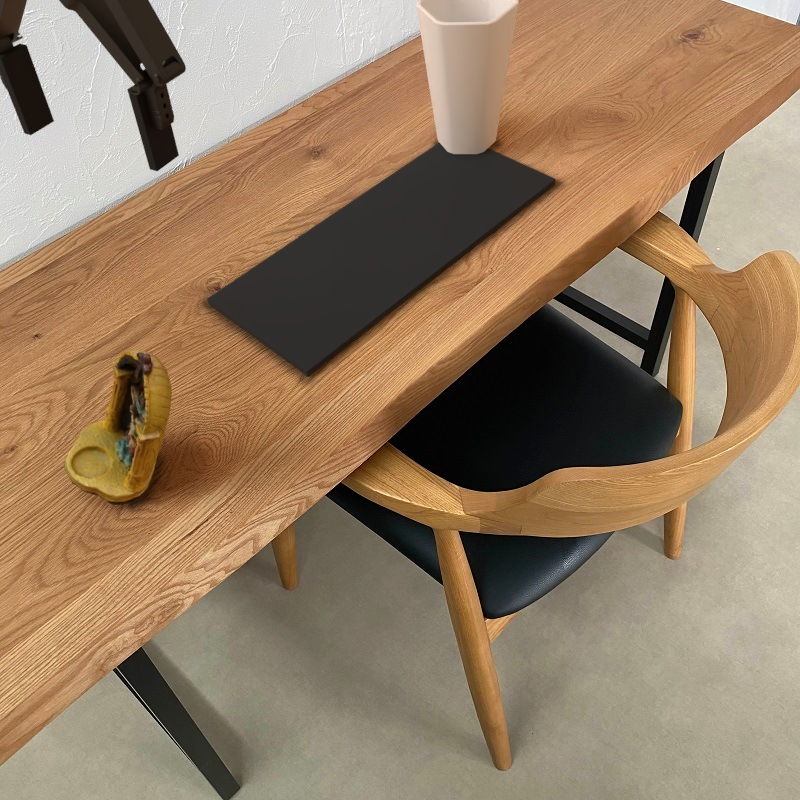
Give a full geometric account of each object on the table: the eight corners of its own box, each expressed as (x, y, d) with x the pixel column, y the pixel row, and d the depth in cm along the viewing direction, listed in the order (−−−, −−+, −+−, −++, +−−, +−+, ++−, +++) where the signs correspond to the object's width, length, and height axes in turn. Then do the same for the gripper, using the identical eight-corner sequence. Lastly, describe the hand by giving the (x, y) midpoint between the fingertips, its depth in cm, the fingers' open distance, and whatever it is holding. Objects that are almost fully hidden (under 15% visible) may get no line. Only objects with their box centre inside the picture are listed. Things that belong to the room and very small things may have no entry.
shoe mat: (308, 377, 78) (306, 371, 77) (208, 304, 85) (206, 298, 85) (555, 184, 95) (555, 178, 94) (453, 137, 102) (453, 132, 102)
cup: (511, 117, 103) (518, -20, 90) (510, 163, 97) (518, 22, 84) (425, 117, 104) (420, -18, 91) (419, 162, 98) (412, 24, 85)
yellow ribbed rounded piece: (208, 428, 74) (161, 313, 63) (204, 501, 69) (152, 391, 58) (85, 443, 74) (15, 331, 63) (72, 518, 69) (-7, 411, 57)
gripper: (193, -162, 48) (250, 155, 64) (-86, -191, 57) (23, 96, 72) (109, -131, 44) (192, 202, 59) (-181, -168, 52) (-42, 133, 68)
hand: (100, 144), depth 66 cm, fingers open, 13 cm apart
